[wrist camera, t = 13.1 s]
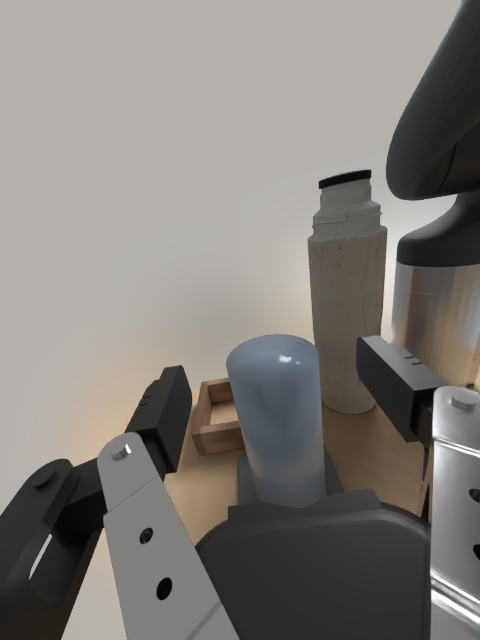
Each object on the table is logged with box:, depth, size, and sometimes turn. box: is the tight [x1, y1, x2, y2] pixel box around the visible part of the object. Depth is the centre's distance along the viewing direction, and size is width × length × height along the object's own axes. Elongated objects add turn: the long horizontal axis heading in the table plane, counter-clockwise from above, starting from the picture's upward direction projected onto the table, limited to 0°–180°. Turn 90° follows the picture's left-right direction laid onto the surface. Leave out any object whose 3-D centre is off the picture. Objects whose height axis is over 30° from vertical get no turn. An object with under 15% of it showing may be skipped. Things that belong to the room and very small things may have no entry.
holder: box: [192, 378, 245, 455], centre depth 34 cm, size 10×10×4 cm
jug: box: [226, 334, 326, 508], centre depth 21 cm, size 6×9×16 cm
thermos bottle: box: [308, 170, 387, 414], centre depth 30 cm, size 8×8×28 cm
